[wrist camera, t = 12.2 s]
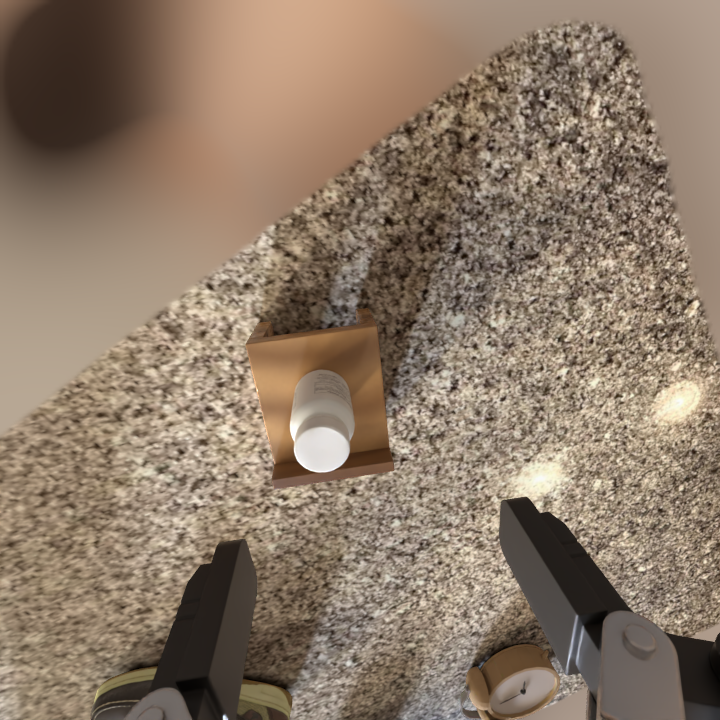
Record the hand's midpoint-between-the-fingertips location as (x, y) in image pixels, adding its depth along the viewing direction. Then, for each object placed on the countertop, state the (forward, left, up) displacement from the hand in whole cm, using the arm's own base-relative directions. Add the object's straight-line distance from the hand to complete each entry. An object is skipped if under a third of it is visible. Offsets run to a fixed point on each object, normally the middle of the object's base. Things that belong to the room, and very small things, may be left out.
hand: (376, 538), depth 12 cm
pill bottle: (+4, -2, -19) cm, 19 cm away
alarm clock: (+57, +17, -25) cm, 64 cm away
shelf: (+5, -2, -24) cm, 25 cm away
